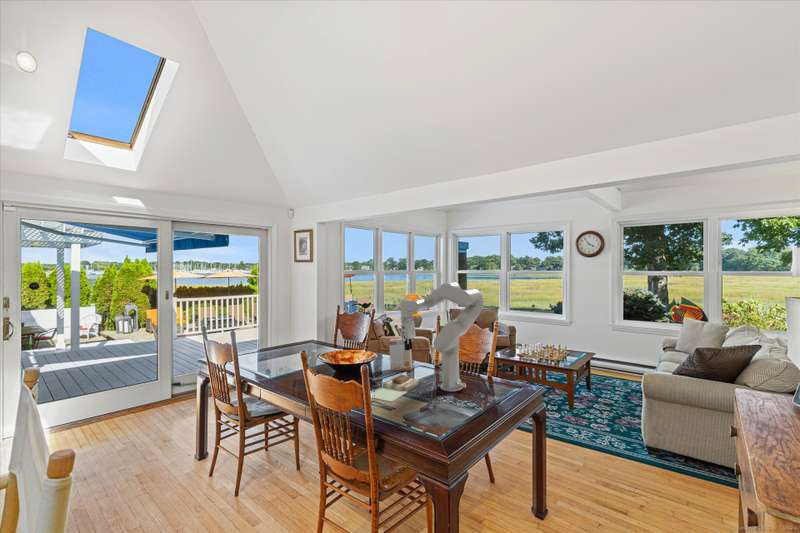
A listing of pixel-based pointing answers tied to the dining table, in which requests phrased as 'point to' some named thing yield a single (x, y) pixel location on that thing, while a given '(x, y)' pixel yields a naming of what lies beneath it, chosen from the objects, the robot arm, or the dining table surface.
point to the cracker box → (399, 356)
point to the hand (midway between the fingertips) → (408, 349)
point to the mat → (387, 394)
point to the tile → (400, 379)
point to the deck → (402, 387)
